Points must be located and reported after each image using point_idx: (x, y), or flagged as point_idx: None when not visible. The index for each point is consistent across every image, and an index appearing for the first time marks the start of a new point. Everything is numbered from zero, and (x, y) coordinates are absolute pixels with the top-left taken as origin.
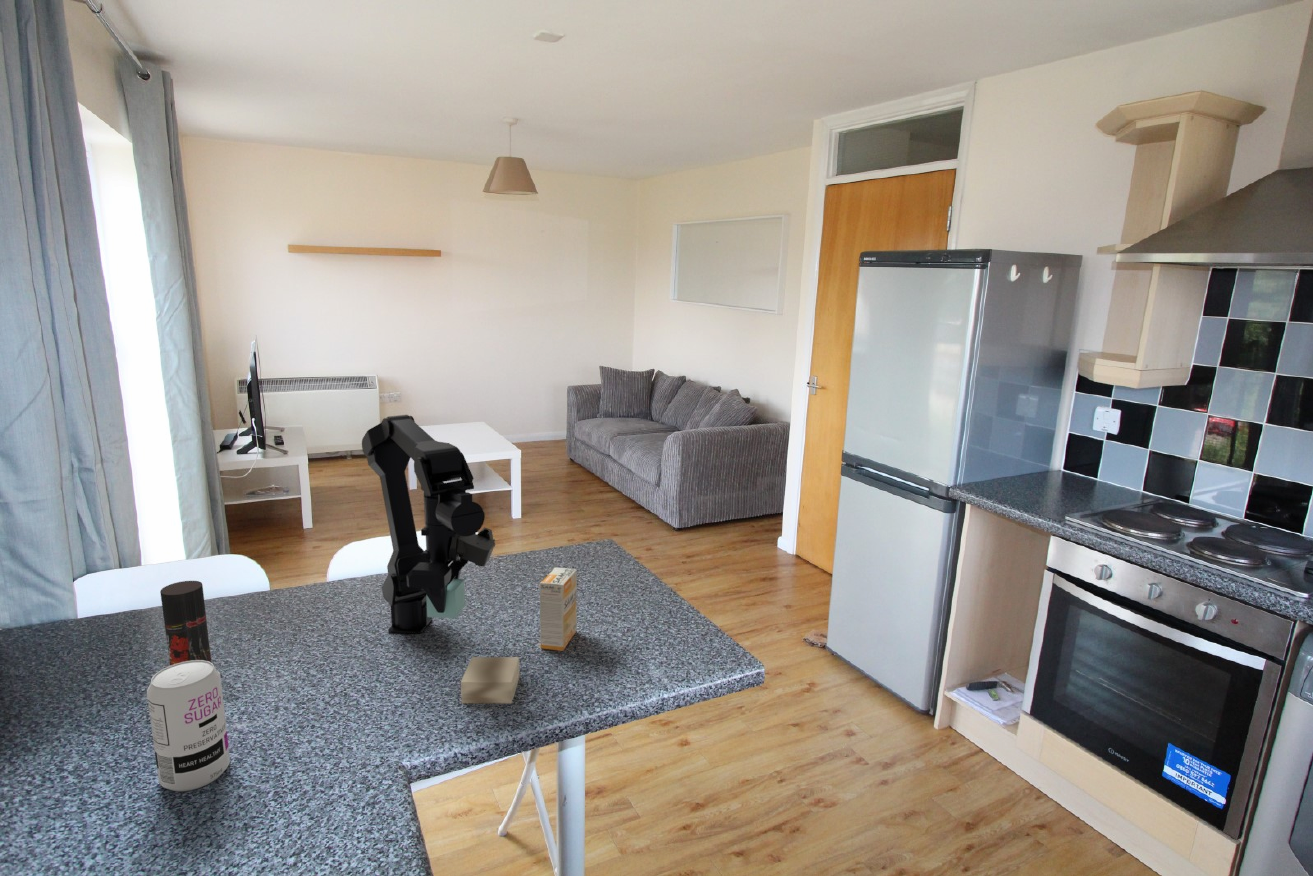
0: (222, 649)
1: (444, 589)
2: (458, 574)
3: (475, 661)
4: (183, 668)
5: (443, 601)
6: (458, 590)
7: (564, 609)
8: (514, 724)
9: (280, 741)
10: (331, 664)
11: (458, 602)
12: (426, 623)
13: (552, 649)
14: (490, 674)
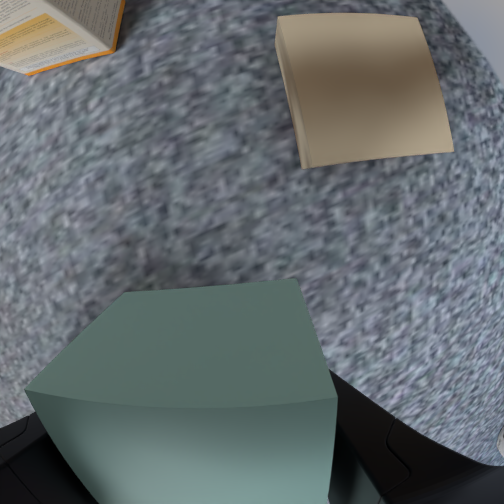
0: None
1: (474, 461)
2: (19, 454)
3: (339, 143)
4: None
5: (371, 403)
6: (205, 378)
7: None
8: (451, 31)
9: (494, 399)
10: None
11: (232, 318)
12: None
13: (119, 24)
14: (401, 74)
